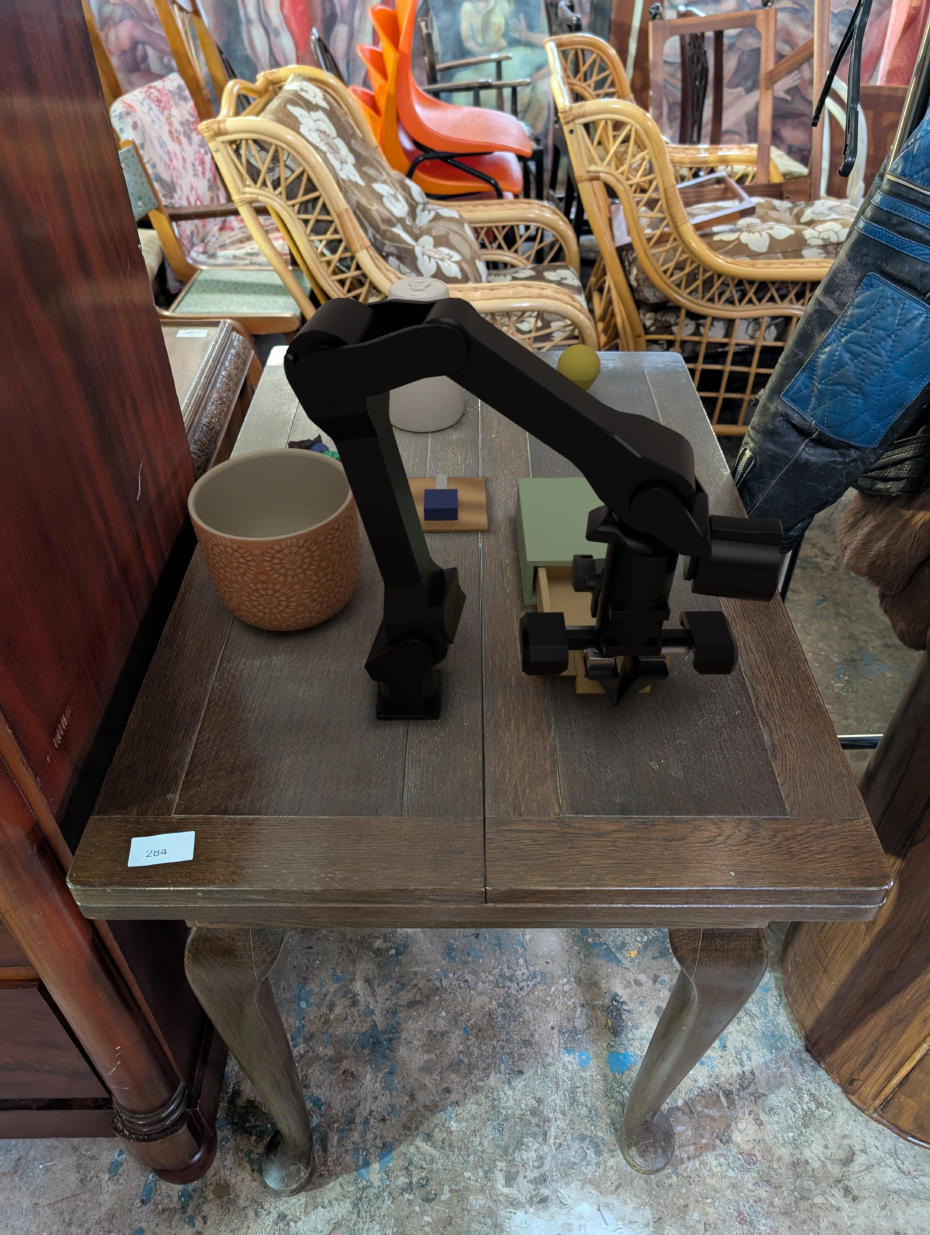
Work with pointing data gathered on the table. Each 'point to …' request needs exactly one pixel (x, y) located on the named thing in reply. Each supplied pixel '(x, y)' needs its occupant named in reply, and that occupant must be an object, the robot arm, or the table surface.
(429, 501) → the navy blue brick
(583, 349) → the light bulb
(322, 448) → the figurine
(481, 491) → the mat
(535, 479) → the cabinet
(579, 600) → the drawer
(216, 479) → the planter
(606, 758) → the table surface
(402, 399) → the can
